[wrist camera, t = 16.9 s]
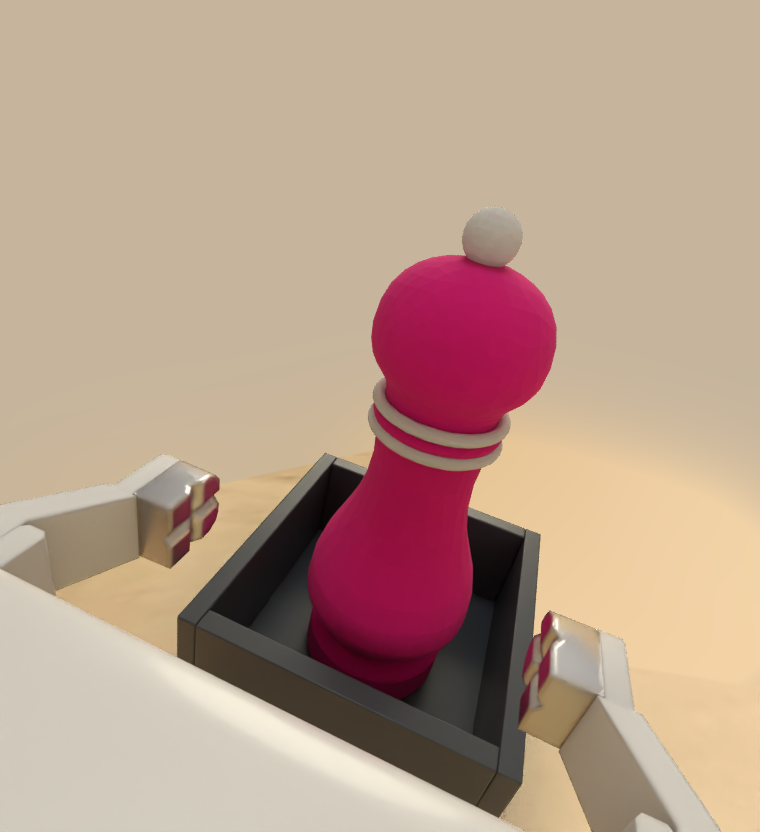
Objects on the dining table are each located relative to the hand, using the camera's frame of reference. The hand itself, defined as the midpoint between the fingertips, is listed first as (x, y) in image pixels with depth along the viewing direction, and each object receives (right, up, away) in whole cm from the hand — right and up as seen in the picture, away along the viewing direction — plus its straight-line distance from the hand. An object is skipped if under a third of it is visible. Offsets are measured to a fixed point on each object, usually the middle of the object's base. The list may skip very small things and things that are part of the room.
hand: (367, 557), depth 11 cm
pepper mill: (0, -8, +13) cm, 15 cm away
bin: (0, -8, +13) cm, 15 cm away
